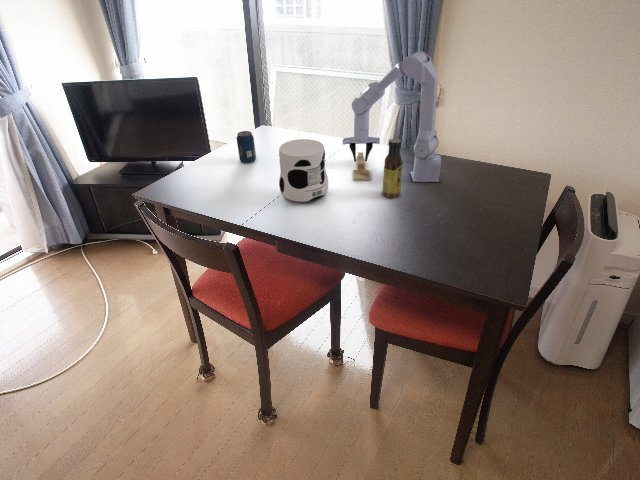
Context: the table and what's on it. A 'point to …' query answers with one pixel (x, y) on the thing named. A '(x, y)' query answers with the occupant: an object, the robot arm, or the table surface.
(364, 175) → the tan upright bar
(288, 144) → the milk container
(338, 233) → the table surface
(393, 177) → the sauce bottle
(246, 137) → the soda can
